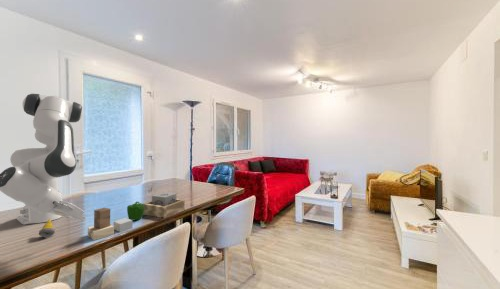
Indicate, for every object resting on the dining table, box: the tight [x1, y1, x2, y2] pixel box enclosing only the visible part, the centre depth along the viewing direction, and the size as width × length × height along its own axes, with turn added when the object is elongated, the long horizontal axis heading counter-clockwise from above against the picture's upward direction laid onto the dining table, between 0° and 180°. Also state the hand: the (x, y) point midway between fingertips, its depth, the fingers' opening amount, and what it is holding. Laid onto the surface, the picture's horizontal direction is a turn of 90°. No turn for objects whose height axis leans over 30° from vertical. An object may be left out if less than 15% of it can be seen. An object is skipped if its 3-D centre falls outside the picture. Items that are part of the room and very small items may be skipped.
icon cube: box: [151, 191, 177, 206], centre depth 138 cm, size 10×10×10 cm
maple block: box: [87, 223, 115, 241], centre depth 103 cm, size 8×8×4 cm
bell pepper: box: [126, 201, 144, 221], centre depth 123 cm, size 8×8×10 cm
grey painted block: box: [113, 217, 133, 233], centre depth 111 cm, size 6×6×4 cm
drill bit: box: [38, 219, 56, 240], centre depth 101 cm, size 5×5×10 cm
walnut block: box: [93, 207, 111, 229], centre depth 103 cm, size 4×4×8 cm
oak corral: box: [141, 198, 186, 219], centre depth 136 cm, size 17×17×6 cm
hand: (76, 217), depth 93 cm, fingers open, 8 cm apart
